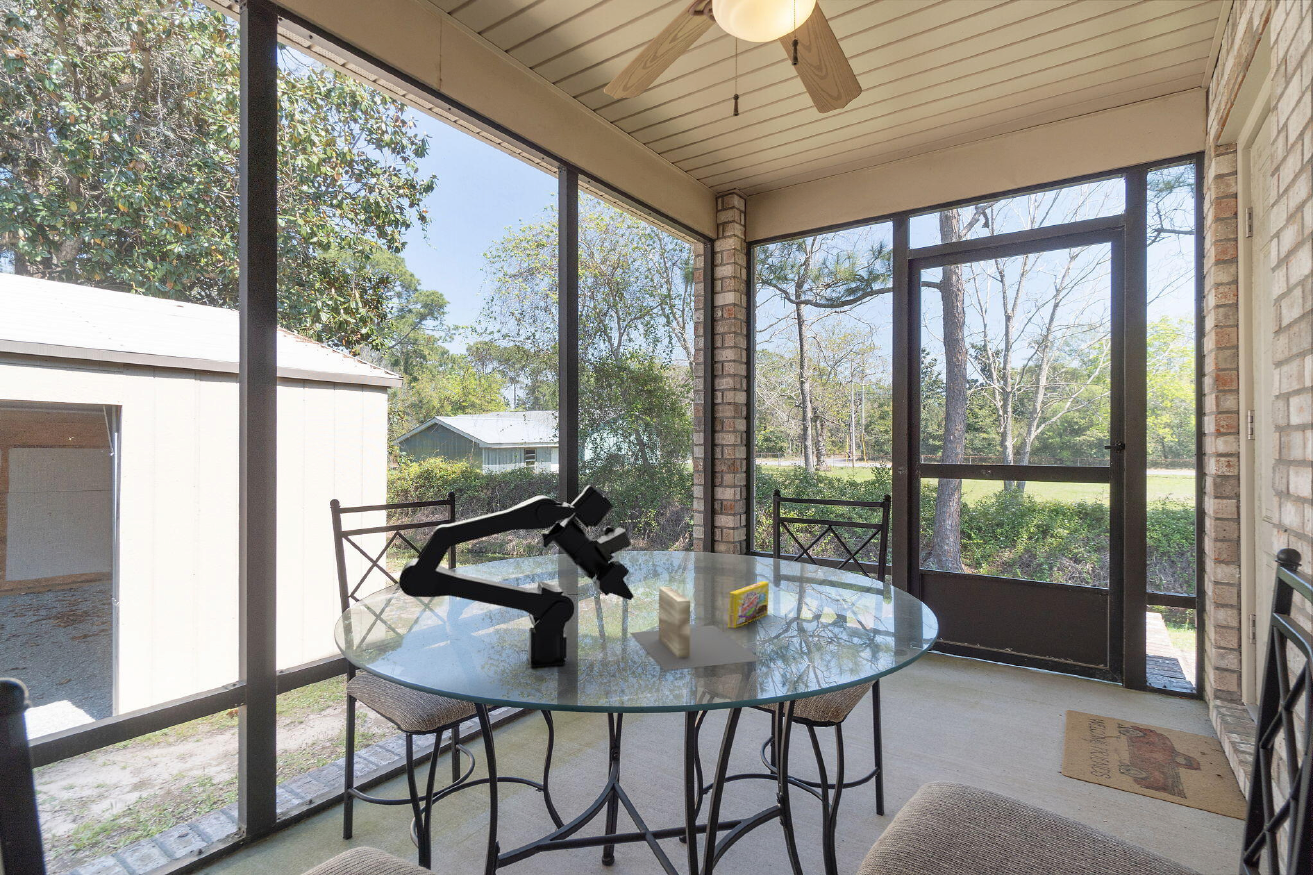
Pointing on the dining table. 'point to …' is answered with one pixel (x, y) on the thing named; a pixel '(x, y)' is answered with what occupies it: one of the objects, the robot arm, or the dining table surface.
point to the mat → (696, 649)
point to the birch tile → (674, 621)
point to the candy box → (748, 604)
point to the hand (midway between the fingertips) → (631, 597)
